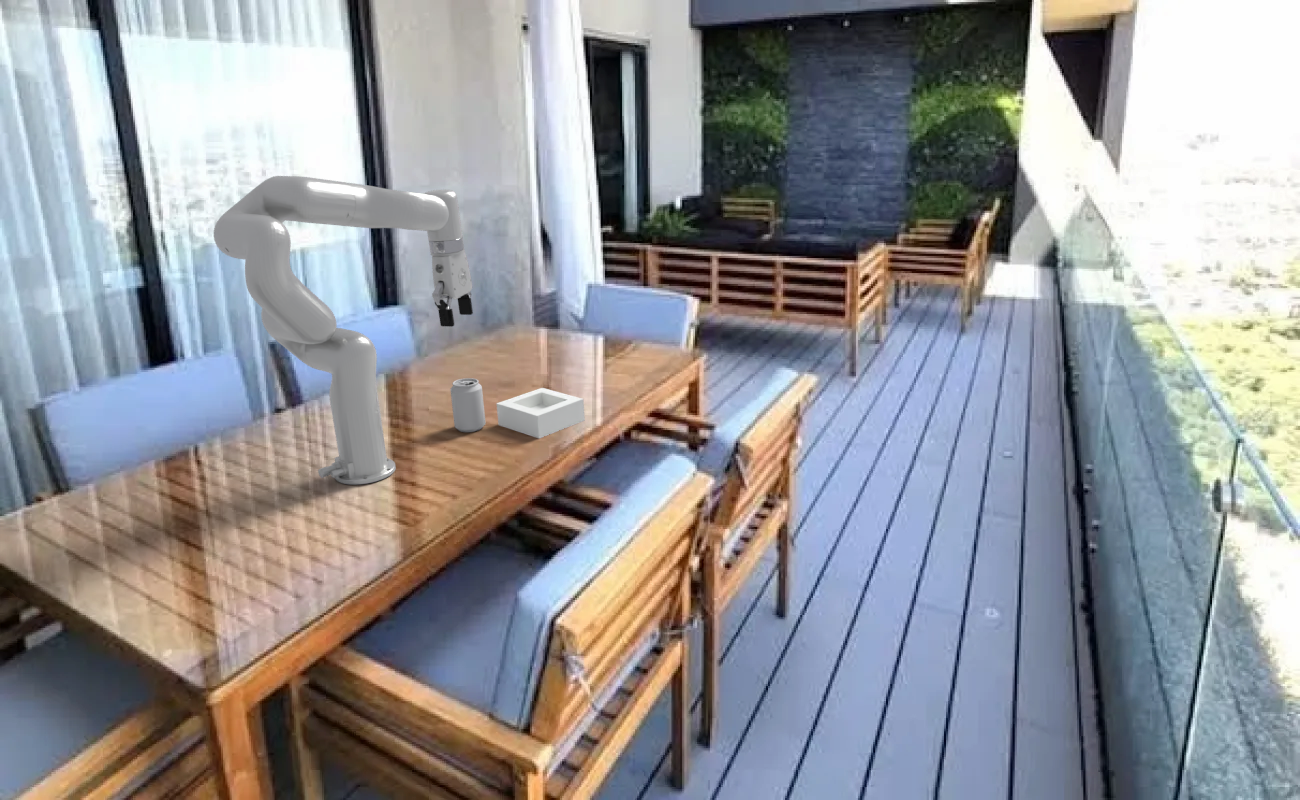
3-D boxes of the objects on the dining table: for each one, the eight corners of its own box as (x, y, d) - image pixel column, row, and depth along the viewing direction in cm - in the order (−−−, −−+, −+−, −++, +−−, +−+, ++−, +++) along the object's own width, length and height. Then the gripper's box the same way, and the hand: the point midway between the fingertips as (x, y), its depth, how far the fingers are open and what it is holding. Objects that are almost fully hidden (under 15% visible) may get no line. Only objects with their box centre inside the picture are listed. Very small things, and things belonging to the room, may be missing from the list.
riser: (539, 439, 197) (537, 416, 195) (498, 426, 207) (496, 403, 205) (584, 421, 208) (583, 398, 206) (544, 409, 217) (542, 387, 215)
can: (478, 434, 201) (473, 386, 197) (449, 432, 203) (444, 385, 199) (490, 423, 208) (486, 377, 204) (462, 421, 210) (457, 376, 206)
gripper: (444, 254, 180) (455, 331, 186) (478, 239, 195) (487, 310, 202) (412, 254, 182) (424, 330, 188) (448, 239, 197) (458, 310, 203)
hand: (457, 320), depth 195 cm, fingers open, 9 cm apart
